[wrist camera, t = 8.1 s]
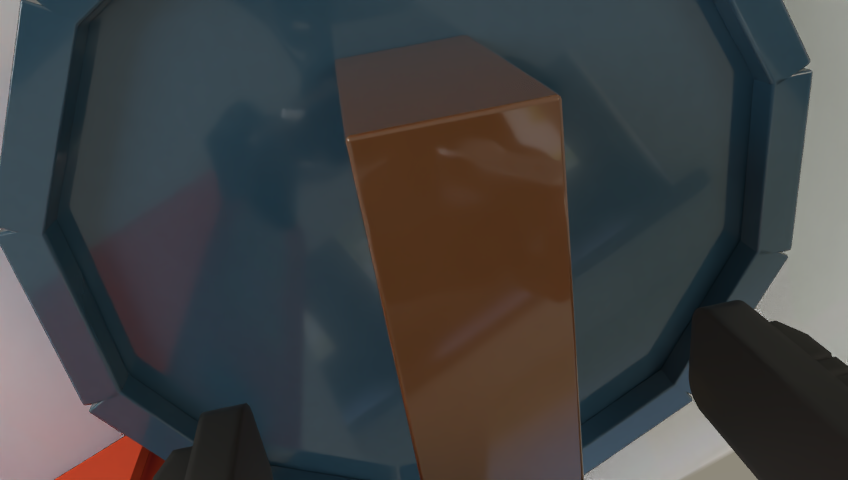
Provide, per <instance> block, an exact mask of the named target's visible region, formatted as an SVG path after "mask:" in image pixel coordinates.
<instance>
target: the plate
mask: <svg viewBox="0 0 848 480" xmlns="http://www.w3.org/2000/svg"><path fill="white" fill-rule="evenodd" d="M809 63H810V58H809V56H808V54H807V52H806V50H805V48H804V45H803V43H802V41H801V39H800V37H799V35H798V33H797V30H796V28H795V26H794V24H793V22H792V20H791V18H790V15H789V13H788V11H787V9H786V7H785V5H784V3H783V0H21V1H20V9H19V17H18V25H17V33H16V41H15V49H14V57H13V65H12V73H11V80H10V88H9V96H8V104H7V112H6V120H5V128H4V136H3V144H2V151H1V159H0V228H1V230H0V246H1V248H2V250H3V252H4V253H5V255H6V257H7V259H8V261H9V263H10V265H11V267H12V269H13V271H14V273H15V275H16V277H17V278H18V280H19V282H20V284H21V286H22V288H23V290H24V292H25V294H26V296H27V298H28V300H29V301H30V303H31V305H32V307H33V309H34V311H35V313H36V315H37V317H38V319H39V321H40V323H41V324H42V326H43V328H44V330H45V332H46V334H47V336H48V338H49V340H50V342H51V344H52V346H53V348H54V349H55V351H56V353H57V355H58V357H59V359H60V361H61V363H62V365H63V367H64V369H65V371H66V372H67V374H68V376H69V378H70V380H71V382H72V384H73V386H74V388H75V390H76V392H77V394H78V396H79V397H80V399H81V401H82V403H83V404H84V405H89V404H92V406H91V408H90V410H89V412H90V413H91V414H93V415H95V416H96V417H98V418H99V419H101V420H102V421H104V422H105V423H107V424H109V425H110V426H112V427H113V428H115V429H116V430H118V431H119V432H121V433H123V434H124V435H126V436H127V437H129V438H130V439H132V440H133V441H135V442H137V443H138V444H140V445H141V446H143V447H144V448H146V449H147V450H149V451H151V452H152V453H154V454H155V455H157V456H158V457H160V458H161V459H163V460H165V461H166V459H167V458H168V457H169V455H170V454H171V453H172V451H173V450H176V449H181V448H186V447H190V446H193V442H194V438H195V434H196V429H197V425H198V421H199V417H200V415H201V414H202V413H203V412H206V411H211V410H216V409H220V408H225V407H230V406H235V405H239V404H244V403H247V404H248V405H249V406H250V408H251V410H252V413H253V416H254V419H255V422H256V425H257V428H258V431H259V434H260V437H261V440H262V443H263V446H264V449H265V452H266V455H267V458H268V461H269V464H270V467H271V471H272V475H273V480H584V475H585V474H586V473H588V472H589V471H591V470H592V469H594V468H595V467H597V466H598V465H600V464H601V463H602V462H604V461H605V460H607V459H608V458H610V457H611V456H613V455H614V454H616V453H617V452H618V451H620V450H621V449H623V448H624V447H626V446H627V445H629V444H630V443H632V442H633V441H634V440H636V439H637V438H639V437H640V436H642V435H643V434H645V433H646V432H648V431H649V430H650V429H652V428H653V427H655V426H656V425H658V424H659V423H661V422H662V421H664V420H665V419H667V418H668V417H669V416H671V415H672V414H674V413H675V412H677V411H678V410H680V409H681V408H683V407H684V406H685V405H687V404H688V403H690V402H691V401H692V397H691V396H690V395H689V394H692V393H691V389H690V385H689V359H690V343H691V326H692V316H693V313H694V311H695V310H696V309H697V308H700V307H705V306H710V305H715V304H719V303H724V302H729V301H733V300H741V301H744V302H745V303H747V304H748V305H749V306H750V307H752V308H753V309H755V307H756V306H757V304H758V303H759V301H760V300H761V298H762V297H763V295H764V294H765V292H766V290H767V289H768V287H769V286H770V284H771V283H772V281H773V280H774V278H775V277H776V275H777V274H778V272H779V271H780V269H781V268H782V266H783V264H784V263H785V261H786V260H787V258H788V256H787V255H786V254H784V253H783V251H787V250H790V249H791V246H792V238H793V229H794V221H795V213H796V205H797V197H798V188H799V180H800V172H801V164H802V155H803V147H804V139H805V131H806V123H807V114H808V106H809V98H810V90H811V82H812V73H813V72H812V70H810V69H806V68H804V67H805V66H807V65H808V64H809ZM688 393H689V394H688Z"/></svg>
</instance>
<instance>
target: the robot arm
mask: <svg viewBox="0 0 848 480" xmlns="http://www.w3.org/2000/svg"><path fill="white" fill-rule="evenodd" d="M689 385H690V389H691V393H692V396H693V398H694V400H695V402H696V404H697V406H698V408H699V409H700V411H701V412H702V413H703V414H704V416H705V417H706V418H707V419H708V420H709V421H710V423H711V424H712V425H713V426H714V427H715V429H716V430H717V431H718V432H719V433H720V435H721V436H722V437H723V438H724V439H725V441H726V442H727V443H728V444H729V445H730V447H731V448H732V449H733V450H734V451H735V453H736V454H737V455H738V456H739V457H740V459H741V460H742V461H743V462H744V463H745V464H746V466H747V467H748V468H749V469H750V470H751V472H752V473H753V474H754V475H755V476H756V478H757V479H758V480H848V366H847V365H846V364H844V363H843V362H842V361H841V360H839V359H838V358H837V357H832V355H831V353H830V352H829V351H828V350H827V349H825V348H824V347H823V346H822V345H820V344H819V343H818V342H816V341H815V340H814V339H813V338H811V337H810V336H809V335H807V334H805V333H803V332H801V331H798V330H796V329H794V328H792V327H789V326H787V325H785V324H782V323H780V322H778V321H772V322H769V321H767V320H766V319H765V318H764V317H763V316H761V315H760V314H759V313H758V312H756V311H755V310H754V309H753V308H752V307H750V306H749V305H748V304H747V303H745V302H744V301H741V300H733V301H729V302H724V303H719V304H715V305H710V306H705V307H700V308H697V309H696V310H695V311H694V313H693V316H692V326H691V343H690V359H689ZM153 480H273V475H272V471H271V467H270V464H269V461H268V458H267V455H266V452H265V449H264V446H263V443H262V440H261V437H260V434H259V431H258V428H257V425H256V422H255V419H254V416H253V413H252V410H251V408H250V406H249V405H248V404H247V403H244V404H239V405H235V406H230V407H225V408H220V409H216V410H211V411H206V412H203V413H202V414H201V415H200V417H199V421H198V425H197V429H196V434H195V438H194V442H193V446H190V447H186V448H181V449H176V450H173V451H172V453H171V454H170V455H169V457H168V458H167V459H166V461H165V462H164V463H163V465H162V466H161V467H160V469H159V470H158V471H157V473H156V474H155V475H154V477H153Z"/></svg>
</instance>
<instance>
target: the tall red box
mask: <svg viewBox="0 0 848 480" xmlns="http://www.w3.org/2000/svg"><path fill="white" fill-rule="evenodd" d="M164 462H165V460H163V459H161V458H160V457H158V456H157V455H155V454H154V453H152V452H151V451H149V450H147V449H146V448H144V447H143V446H141V445H140V444H138V443H137V442H135V441H133V440H132V439H130V438H129V437H127V436H124V437H123V438H121V439H119V440H118V441H116V442H115V443H113V444H111V445H110V446H108V447H107V448H105V449H103V450H102V451H100V452H98V453H97V454H95V455H94V456H92V457H90V458H89V459H87V460H85V461H84V462H82V463H81V464H79V465H77V466H76V467H74V468H72V469H71V470H69V471H68V472H66V473H64V474H63V475H61V476H59V477H58V478H56V479H55V480H153V477H154V475H155V474H156V473H157V471H158V470H159V469H160V467H161V466H162V465H163V463H164Z"/></svg>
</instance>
